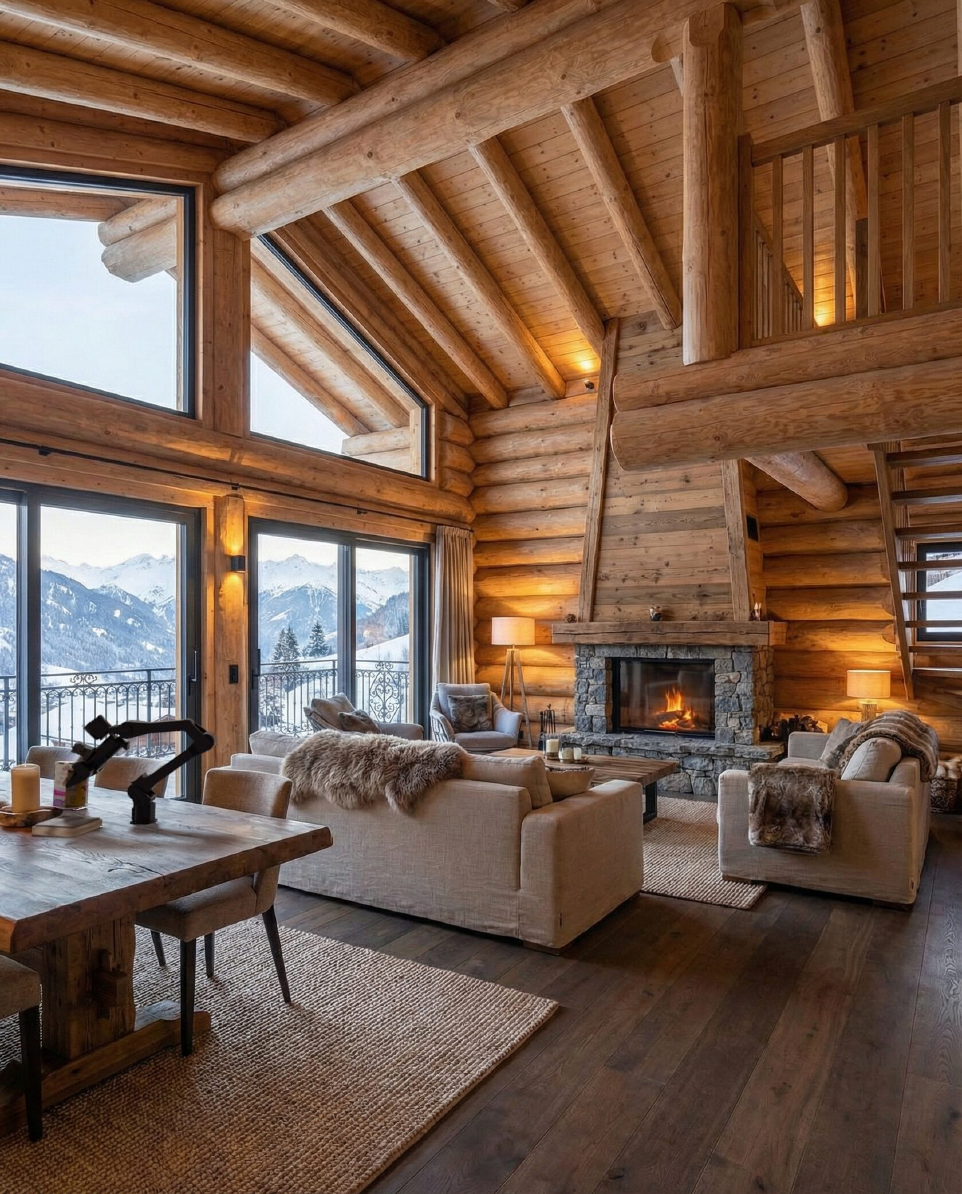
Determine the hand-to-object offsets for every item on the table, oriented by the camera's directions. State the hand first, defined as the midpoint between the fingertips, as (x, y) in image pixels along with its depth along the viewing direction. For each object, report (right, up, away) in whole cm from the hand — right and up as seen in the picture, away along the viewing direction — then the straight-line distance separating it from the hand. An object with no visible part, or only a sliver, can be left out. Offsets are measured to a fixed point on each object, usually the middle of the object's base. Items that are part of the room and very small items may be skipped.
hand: (69, 785), depth 265 cm
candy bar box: (-11, -13, +22) cm, 28 cm away
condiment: (+1, -7, -1) cm, 7 cm away
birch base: (+5, -12, -10) cm, 16 cm away
